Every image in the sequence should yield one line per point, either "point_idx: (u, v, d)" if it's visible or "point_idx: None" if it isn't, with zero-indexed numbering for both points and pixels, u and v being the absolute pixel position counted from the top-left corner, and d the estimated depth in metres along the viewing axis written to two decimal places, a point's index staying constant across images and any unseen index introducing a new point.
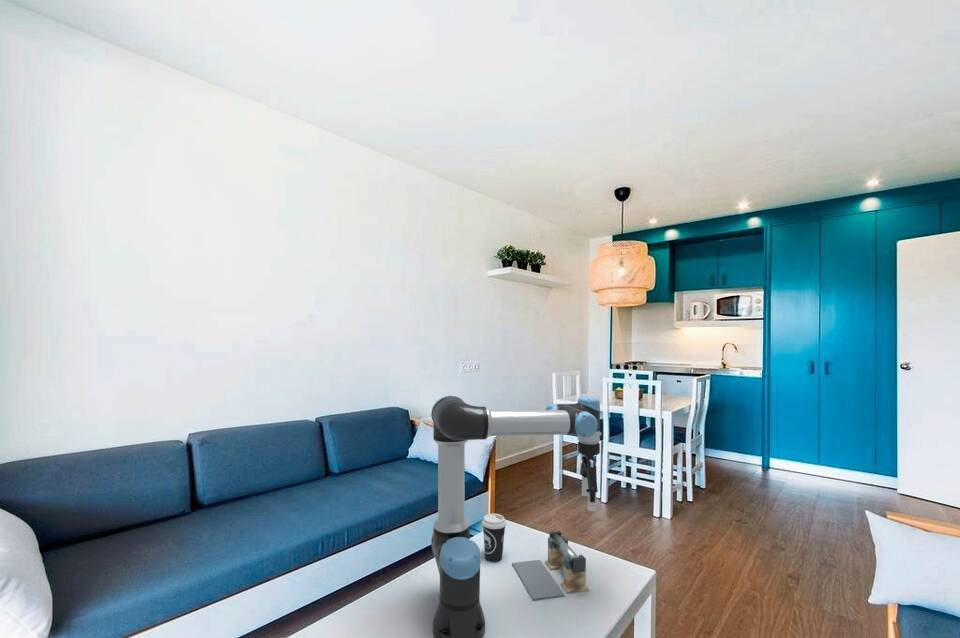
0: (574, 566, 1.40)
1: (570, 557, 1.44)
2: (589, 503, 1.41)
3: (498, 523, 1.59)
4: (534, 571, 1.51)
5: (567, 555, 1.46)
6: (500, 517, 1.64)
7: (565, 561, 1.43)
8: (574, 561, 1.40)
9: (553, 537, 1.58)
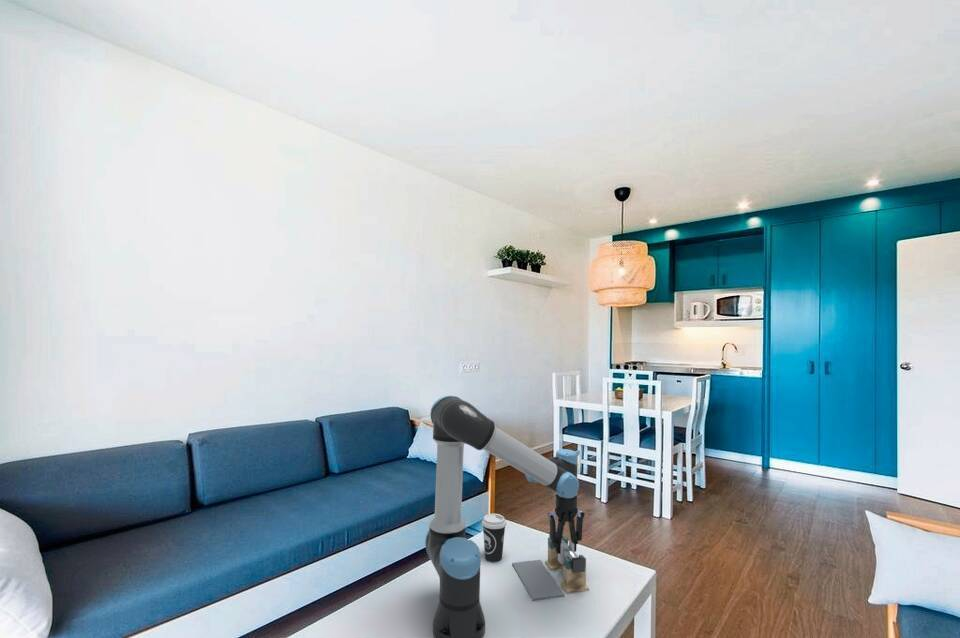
0: (574, 566, 1.40)
1: (570, 557, 1.44)
2: (558, 553, 1.51)
3: (498, 523, 1.59)
4: (534, 571, 1.51)
5: (567, 555, 1.46)
6: (500, 517, 1.64)
7: (565, 561, 1.43)
8: (574, 561, 1.40)
9: None
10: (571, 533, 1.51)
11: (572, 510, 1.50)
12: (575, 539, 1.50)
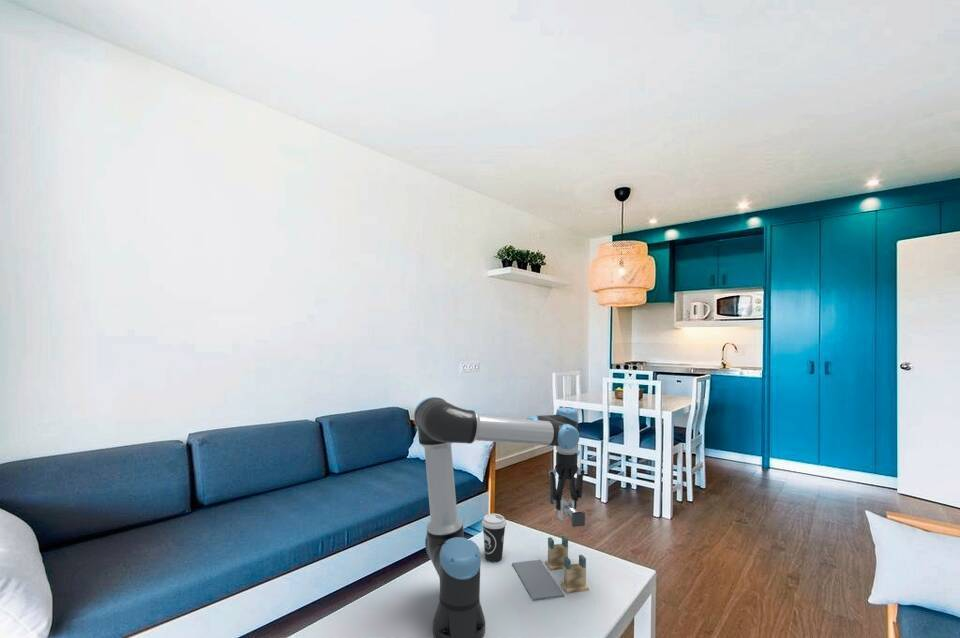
0: (574, 520, 1.41)
1: (570, 512, 1.44)
2: (558, 510, 1.51)
3: (498, 523, 1.59)
4: (534, 571, 1.51)
5: (567, 511, 1.46)
6: (500, 517, 1.64)
7: (565, 561, 1.43)
8: (574, 515, 1.41)
9: None
10: (571, 490, 1.52)
11: (572, 467, 1.51)
12: (575, 496, 1.51)
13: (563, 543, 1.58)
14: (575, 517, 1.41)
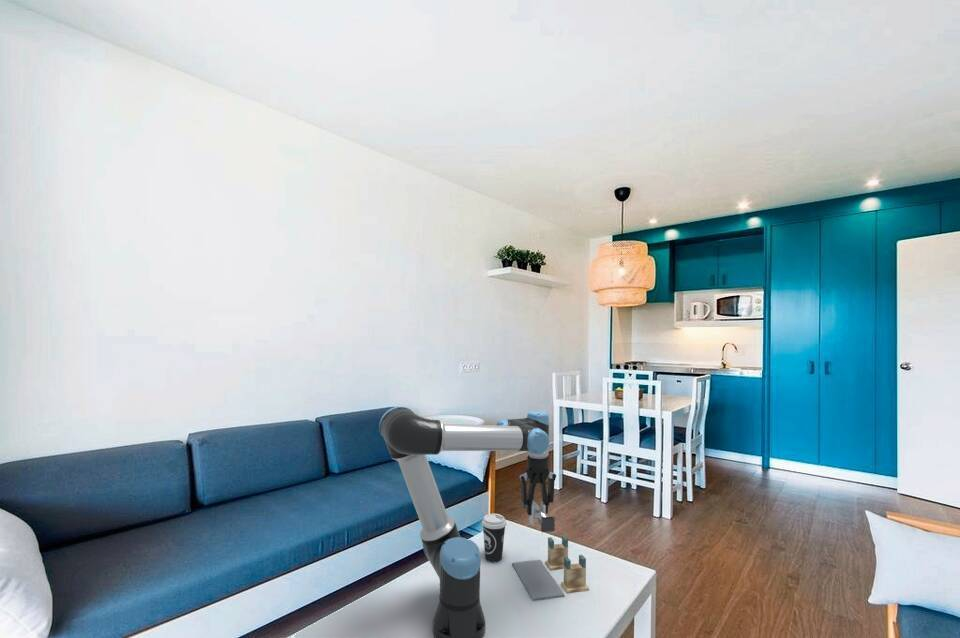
0: (543, 525, 1.38)
1: (540, 517, 1.42)
2: (529, 515, 1.49)
3: (498, 523, 1.59)
4: (534, 571, 1.51)
5: (537, 516, 1.44)
6: (500, 517, 1.64)
7: (565, 561, 1.43)
8: (543, 520, 1.38)
9: None
10: (543, 495, 1.49)
11: (543, 471, 1.48)
12: (546, 501, 1.48)
13: (563, 543, 1.58)
14: (544, 522, 1.38)
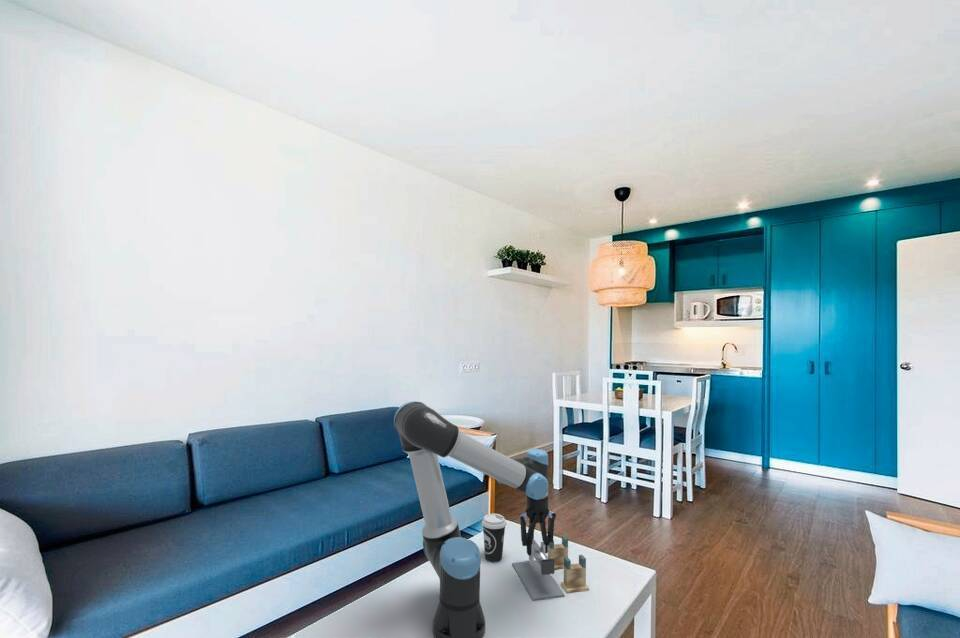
0: (543, 568, 1.38)
1: (540, 559, 1.41)
2: (529, 555, 1.48)
3: (498, 523, 1.59)
4: (534, 571, 1.51)
5: (537, 557, 1.43)
6: (500, 517, 1.64)
7: (565, 561, 1.43)
8: (543, 563, 1.38)
9: None
10: (542, 534, 1.49)
11: (543, 511, 1.48)
12: (546, 540, 1.48)
13: (563, 543, 1.58)
14: (544, 565, 1.38)
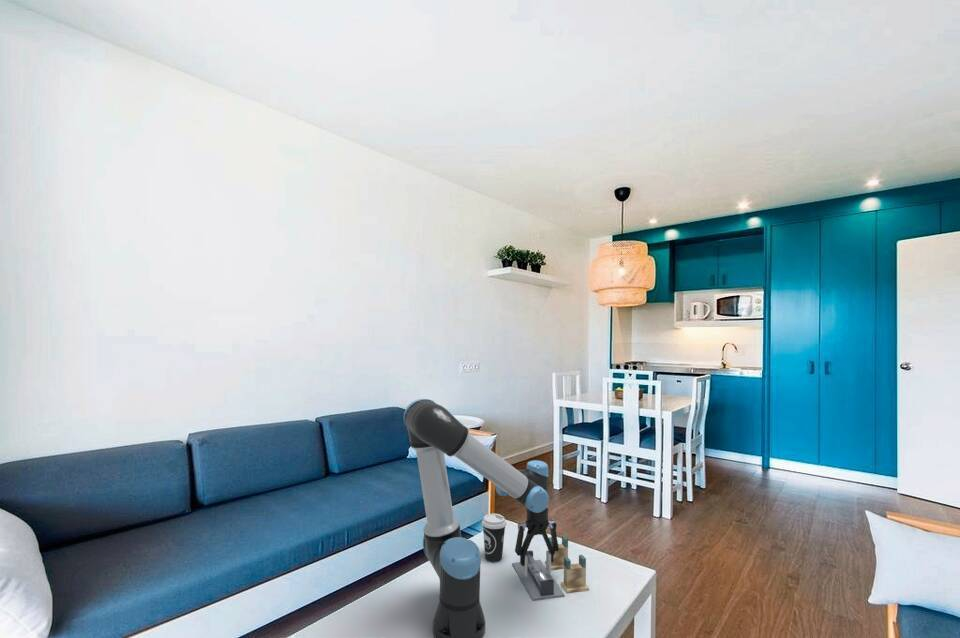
0: (542, 589, 1.37)
1: (539, 579, 1.41)
2: (523, 565, 1.48)
3: (498, 523, 1.59)
4: None
5: (536, 577, 1.43)
6: (500, 517, 1.64)
7: (565, 561, 1.43)
8: (543, 584, 1.38)
9: None
10: (547, 544, 1.49)
11: (543, 524, 1.48)
12: (551, 550, 1.48)
13: (563, 543, 1.58)
14: (544, 586, 1.38)
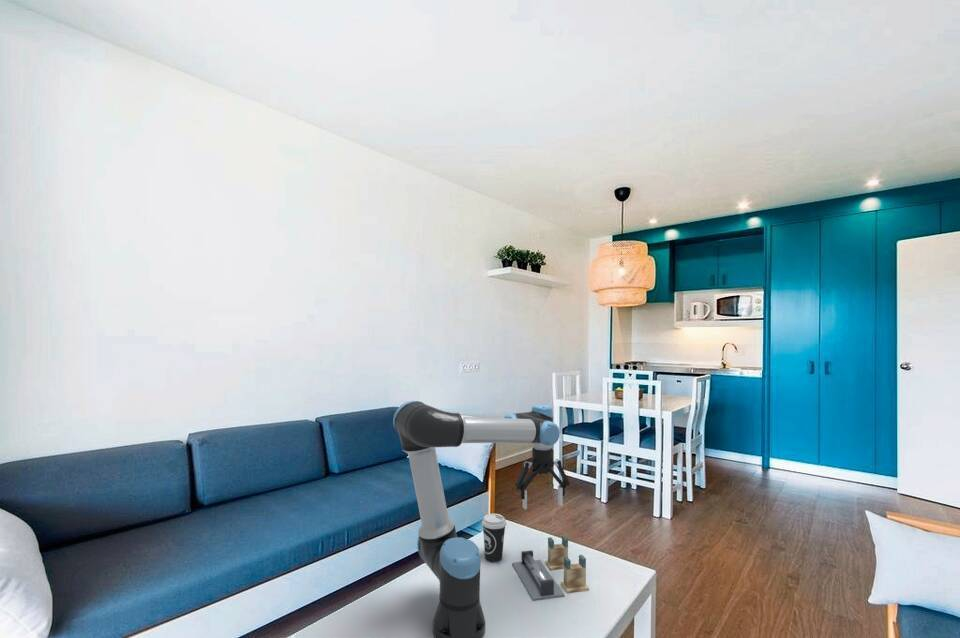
0: (542, 589, 1.37)
1: (539, 579, 1.41)
2: (523, 499, 1.54)
3: (498, 523, 1.59)
4: None
5: (536, 577, 1.43)
6: (500, 517, 1.64)
7: (565, 561, 1.43)
8: (543, 584, 1.38)
9: (525, 557, 1.55)
10: (557, 481, 1.56)
11: (548, 464, 1.54)
12: (562, 484, 1.55)
13: (563, 543, 1.58)
14: (544, 586, 1.38)
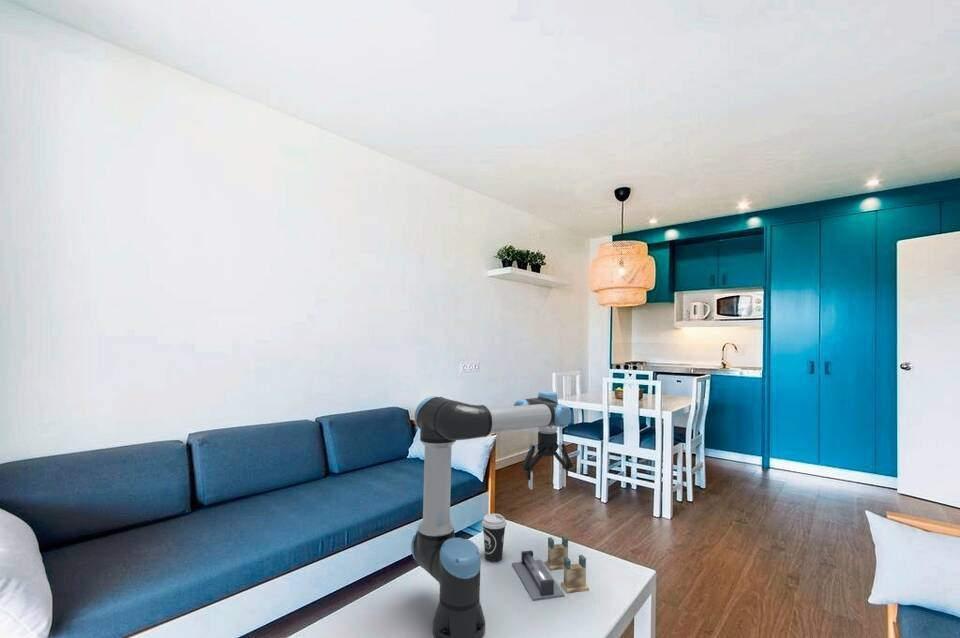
0: (542, 589, 1.37)
1: (539, 579, 1.41)
2: None
3: (498, 523, 1.59)
4: None
5: (536, 577, 1.43)
6: (500, 517, 1.64)
7: (565, 561, 1.43)
8: (543, 584, 1.38)
9: (525, 557, 1.55)
10: (561, 463, 1.65)
11: (553, 447, 1.63)
12: (566, 466, 1.64)
13: (563, 543, 1.58)
14: (544, 586, 1.38)
